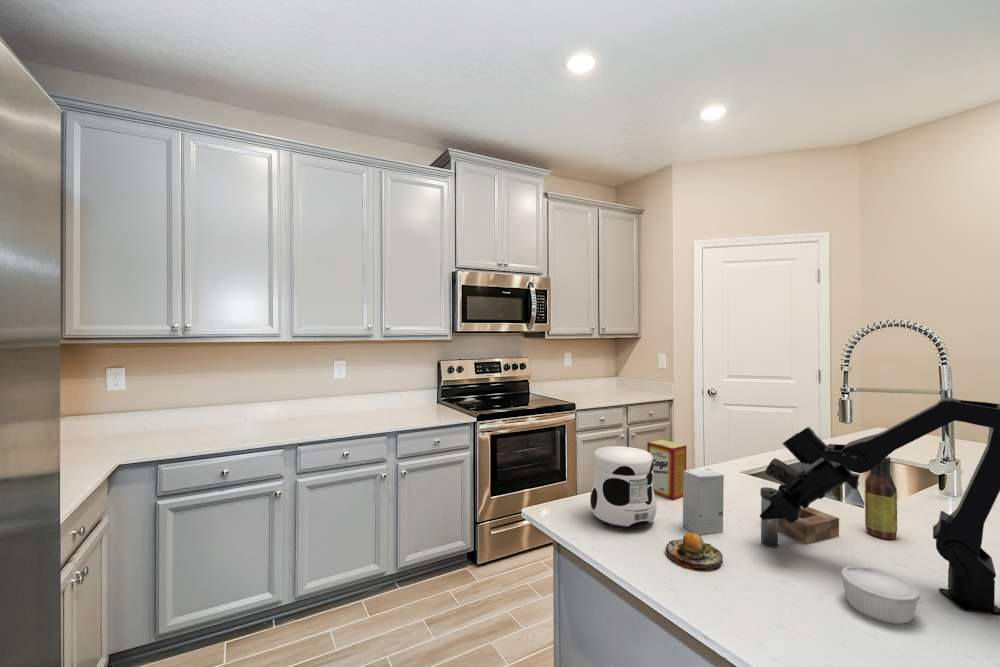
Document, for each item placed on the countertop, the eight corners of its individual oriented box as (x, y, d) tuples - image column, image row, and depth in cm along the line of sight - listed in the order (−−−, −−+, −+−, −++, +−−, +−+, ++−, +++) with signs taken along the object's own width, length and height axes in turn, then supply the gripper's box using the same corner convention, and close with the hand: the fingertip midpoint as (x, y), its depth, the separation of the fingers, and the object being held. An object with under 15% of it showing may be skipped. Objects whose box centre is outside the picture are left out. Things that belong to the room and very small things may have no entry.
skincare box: (697, 536, 113) (698, 477, 113) (681, 526, 119) (681, 469, 118) (724, 531, 115) (725, 473, 115) (707, 521, 121) (707, 466, 121)
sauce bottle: (903, 541, 110) (904, 460, 110) (874, 539, 111) (875, 459, 111) (886, 529, 117) (887, 453, 116) (858, 527, 118) (859, 451, 117)
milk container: (604, 502, 135) (604, 442, 134) (663, 516, 125) (664, 451, 125) (579, 523, 120) (580, 455, 120) (645, 540, 111) (645, 467, 110)
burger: (731, 560, 102) (732, 527, 102) (708, 579, 94) (708, 543, 94) (680, 541, 111) (681, 510, 111) (655, 557, 103) (655, 524, 103)
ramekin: (881, 591, 90) (881, 564, 90) (937, 628, 79) (938, 598, 79) (826, 592, 89) (826, 565, 89) (875, 630, 78) (875, 600, 78)
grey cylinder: (781, 548, 107) (782, 494, 106) (763, 546, 107) (763, 492, 107) (775, 540, 110) (776, 488, 110) (757, 539, 111) (758, 486, 111)
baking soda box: (647, 490, 144) (647, 440, 144) (660, 486, 148) (660, 438, 147) (672, 500, 136) (673, 447, 136) (686, 496, 140) (686, 444, 139)
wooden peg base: (838, 536, 113) (839, 518, 113) (806, 544, 109) (806, 526, 109) (792, 517, 124) (792, 500, 124) (761, 524, 120) (761, 507, 120)
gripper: (797, 443, 113) (748, 477, 120) (780, 459, 99) (726, 496, 107) (836, 482, 107) (782, 514, 115) (823, 504, 94) (763, 540, 102)
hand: (763, 515), depth 110 cm, fingers closed on grey cylinder, 4 cm apart
